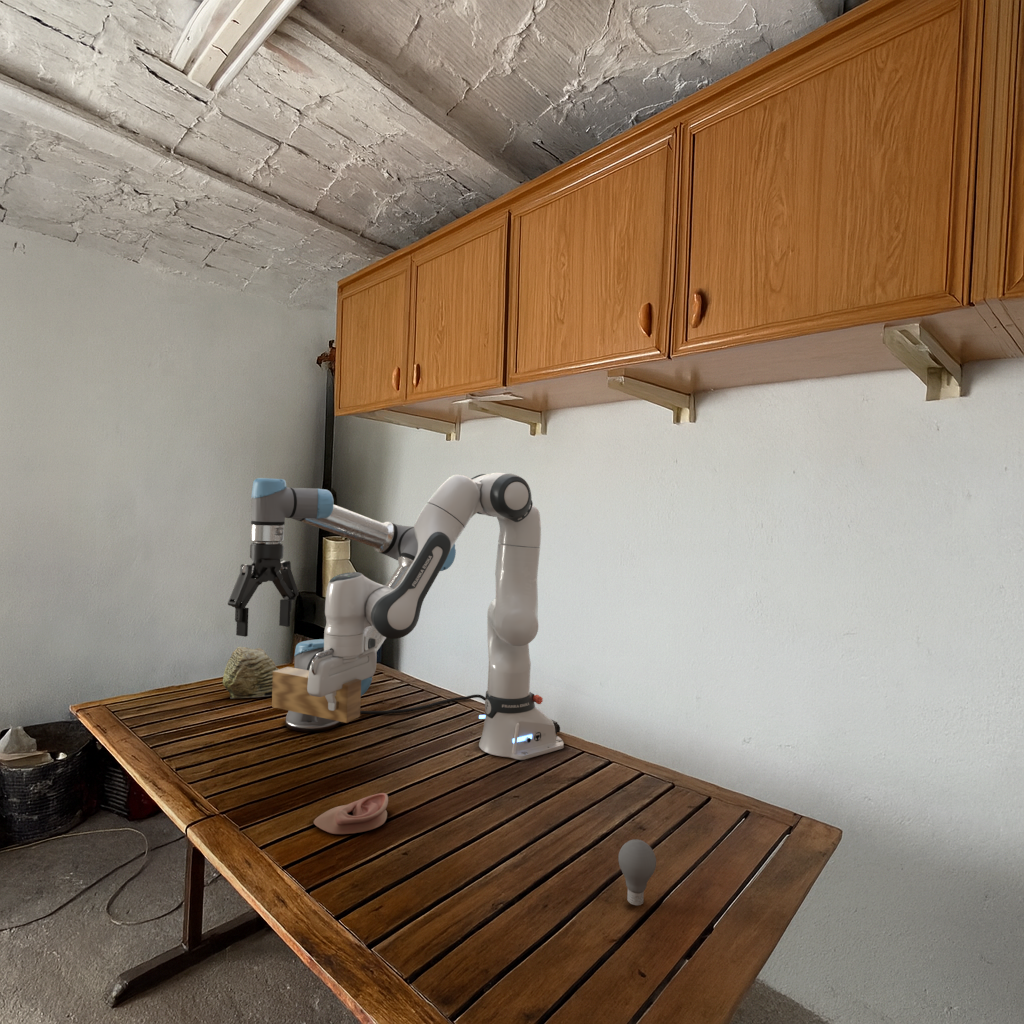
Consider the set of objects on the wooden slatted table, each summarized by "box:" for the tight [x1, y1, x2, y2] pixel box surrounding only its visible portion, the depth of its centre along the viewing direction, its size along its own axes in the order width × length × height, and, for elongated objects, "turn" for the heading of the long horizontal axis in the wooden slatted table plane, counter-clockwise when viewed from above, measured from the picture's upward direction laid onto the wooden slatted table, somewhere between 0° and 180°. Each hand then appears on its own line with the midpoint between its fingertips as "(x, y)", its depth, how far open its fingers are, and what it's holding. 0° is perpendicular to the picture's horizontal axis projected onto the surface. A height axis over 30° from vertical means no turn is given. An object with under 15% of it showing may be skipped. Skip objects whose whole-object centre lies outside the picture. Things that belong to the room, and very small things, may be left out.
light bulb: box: [618, 838, 657, 906], centre depth 102 cm, size 6×6×10 cm
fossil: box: [222, 646, 279, 699], centre depth 198 cm, size 9×18×15 cm, turn 132°
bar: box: [271, 666, 362, 724], centre depth 146 cm, size 22×5×8 cm, turn 67°
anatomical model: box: [313, 792, 389, 835], centre depth 124 cm, size 13×4×12 cm
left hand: (264, 630), depth 152 cm, fingers open, 13 cm apart
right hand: (342, 705), depth 143 cm, fingers closed on bar, 5 cm apart
